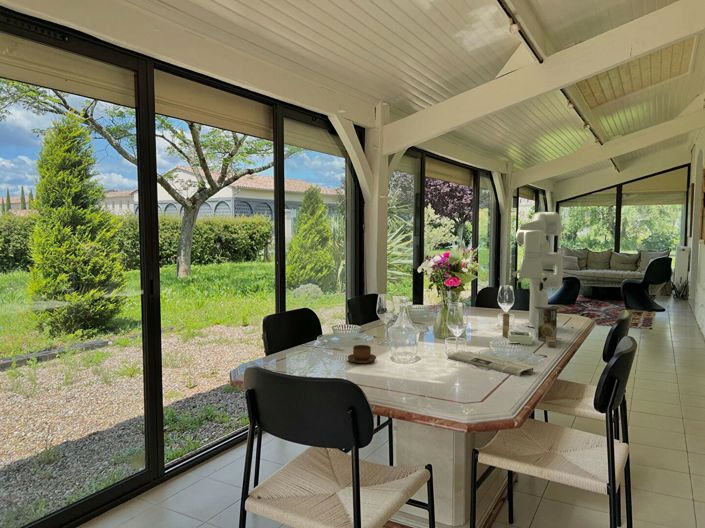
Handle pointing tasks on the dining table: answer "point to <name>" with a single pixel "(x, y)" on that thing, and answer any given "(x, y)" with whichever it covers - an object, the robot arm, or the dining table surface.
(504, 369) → the newspaper
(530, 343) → the pale green square tray
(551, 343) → the wooden door wedge
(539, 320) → the coffee box
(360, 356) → the cup and saucer
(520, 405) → the dining table surface
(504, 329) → the wooden square peg
